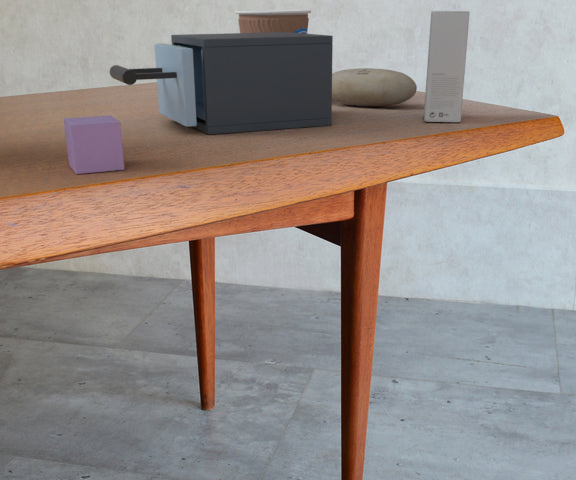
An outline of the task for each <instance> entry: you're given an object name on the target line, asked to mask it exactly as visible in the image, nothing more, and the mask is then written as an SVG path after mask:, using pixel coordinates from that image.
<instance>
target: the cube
mask: <svg viewBox="0 0 576 480" xmlns="http://www.w3.org/2000/svg"><path fill="white" fill-rule="evenodd" d="M121 124H122V123H121V121H120V120H118V119H117V118H115V117H114V116H112V115H97V116H96V115H95V116H81V117H65V118H63V125H64V135H65V143H66V151H67V159H68V166H69V167H70V168H71V169H72V171H73V172H74V174H76V175H82V174H84V175H85V174H93V173H95V174H96V173H105V172H106V173H107V172H115V171H116V170H117V171H125V169H126V168H125V158H124V147H123V137H122V125H121ZM117 171H116V172H117Z"/></svg>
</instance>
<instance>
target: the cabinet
mask: <svg viewBox="0 0 576 480" xmlns="http://www.w3.org/2000/svg"><path fill="white" fill-rule="evenodd" d="M170 37H171V38H170V39H171V45H175V46H178V45H193V46H199V47H202V58H203V79H204V100H205V120H203V119H201V118H198V117H196V121H197V126H191V127H192V128H194V129H196V130H198V131H200V132H202V133H203V134H206V135H208V136H211V135H222V134H224V135H225V134H235V133H248V132H249V133H250V132H261V131H274V130H286V129H298V128H299V129H301V128H313V127H314V128H315V127H325V126H332V116H333V115H332V114H333V112H332V111H333V108H332V107H333V101H332V100H333V99H332V74H333V40H334V37H333V35H330V34H329V35H327V34H315V33H307V34H305V33H292V32H268V33H240V32H236V33H235V32H234V33H233V32H232V33H231V32H229V33H197V34H196V33H195V34H194V33H192V34H171V35H170Z"/></svg>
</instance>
